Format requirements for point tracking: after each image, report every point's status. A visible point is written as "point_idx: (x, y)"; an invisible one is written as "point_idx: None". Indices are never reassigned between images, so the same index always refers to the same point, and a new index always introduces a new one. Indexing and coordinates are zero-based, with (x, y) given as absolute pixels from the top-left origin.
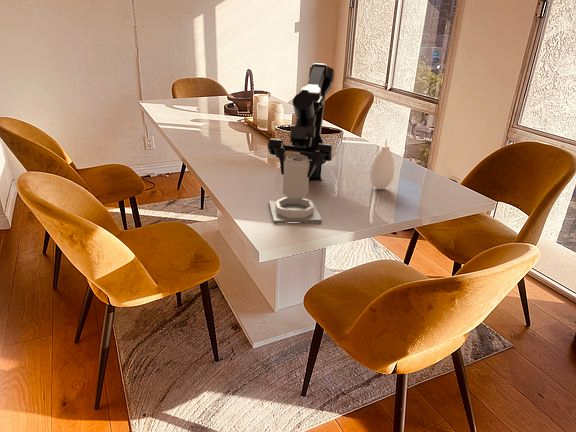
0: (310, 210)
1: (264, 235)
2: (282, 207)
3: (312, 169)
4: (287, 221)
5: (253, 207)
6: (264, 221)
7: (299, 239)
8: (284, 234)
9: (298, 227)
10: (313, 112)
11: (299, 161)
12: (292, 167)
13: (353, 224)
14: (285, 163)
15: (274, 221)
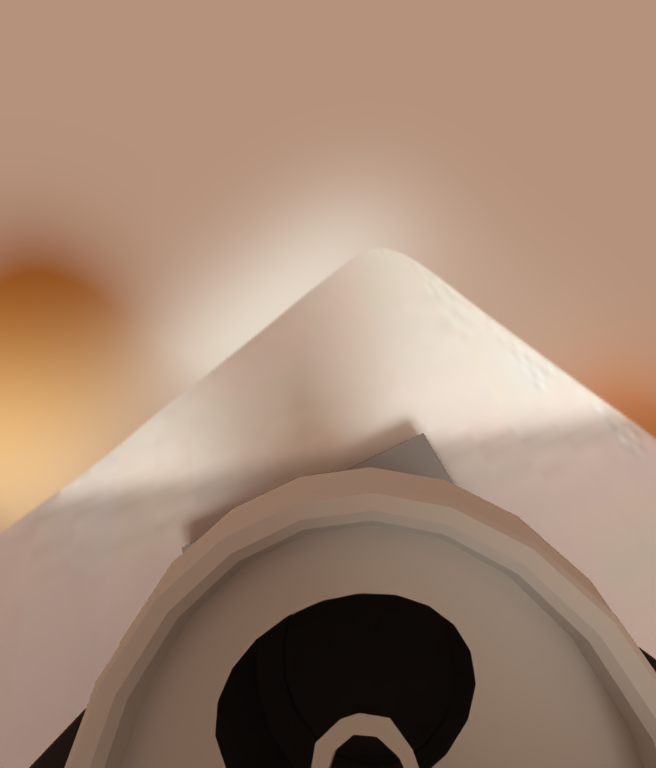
0: None
1: (412, 328)
2: None
3: (78, 718)
4: (358, 465)
5: (643, 610)
6: (475, 447)
7: (267, 351)
8: (337, 365)
9: (295, 449)
10: None
11: (247, 524)
12: (375, 470)
13: (16, 598)
14: (558, 556)
15: (419, 435)
